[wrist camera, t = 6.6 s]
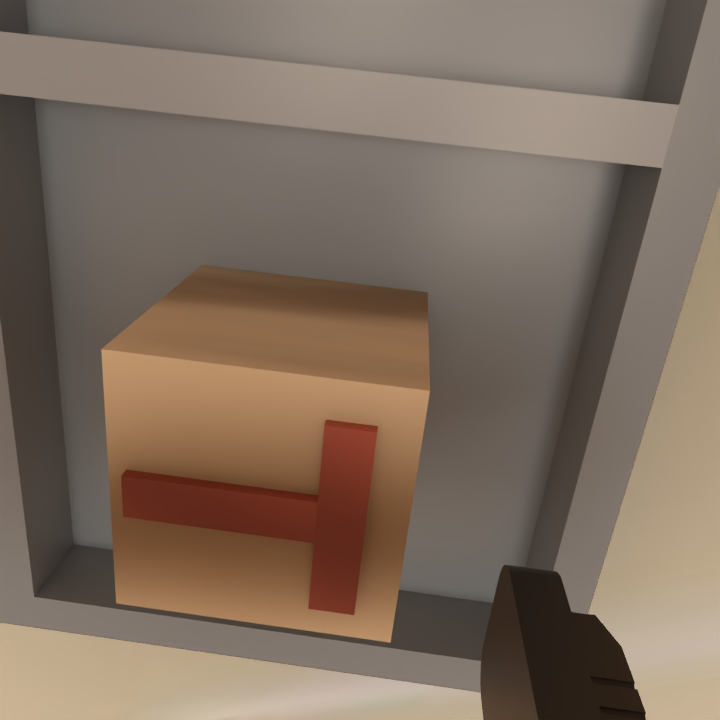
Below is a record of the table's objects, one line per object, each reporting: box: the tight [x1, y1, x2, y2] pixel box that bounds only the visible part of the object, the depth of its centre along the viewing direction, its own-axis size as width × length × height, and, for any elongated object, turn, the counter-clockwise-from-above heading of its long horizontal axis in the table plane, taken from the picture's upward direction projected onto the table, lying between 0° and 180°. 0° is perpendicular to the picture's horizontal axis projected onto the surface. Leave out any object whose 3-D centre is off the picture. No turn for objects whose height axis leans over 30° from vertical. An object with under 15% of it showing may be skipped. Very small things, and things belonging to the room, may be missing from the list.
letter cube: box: [101, 265, 430, 643], centre depth 13 cm, size 5×5×5 cm
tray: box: [0, 0, 720, 692], centre depth 13 cm, size 26×14×3 cm, turn 174°
